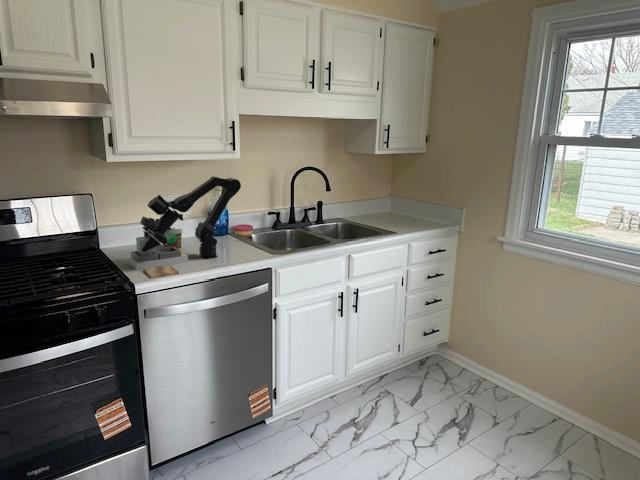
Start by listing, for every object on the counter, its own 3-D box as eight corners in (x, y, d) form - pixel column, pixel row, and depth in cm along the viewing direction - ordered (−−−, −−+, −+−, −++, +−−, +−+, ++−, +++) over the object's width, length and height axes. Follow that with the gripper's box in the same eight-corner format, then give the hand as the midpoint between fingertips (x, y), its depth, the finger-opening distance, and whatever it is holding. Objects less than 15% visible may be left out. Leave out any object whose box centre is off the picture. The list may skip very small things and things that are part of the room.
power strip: (180, 257, 212) (180, 245, 211) (188, 262, 205) (187, 250, 204) (130, 264, 199) (129, 252, 198) (136, 269, 192) (135, 257, 191)
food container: (156, 247, 228) (155, 227, 226) (166, 244, 233) (165, 225, 231) (172, 251, 221) (171, 230, 219) (183, 248, 226) (182, 228, 224)
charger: (149, 256, 201) (148, 236, 199) (152, 259, 198) (151, 238, 195) (137, 257, 199) (136, 237, 196) (140, 260, 195) (139, 240, 193)
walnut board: (170, 266, 198) (169, 265, 197) (178, 273, 189) (178, 271, 189) (143, 270, 191) (143, 269, 191) (151, 278, 183) (151, 276, 182)
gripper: (146, 206, 203) (121, 233, 199) (157, 213, 188) (131, 243, 184) (165, 222, 209) (141, 249, 206) (178, 230, 194) (152, 259, 191)
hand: (141, 249), depth 196 cm, fingers closed on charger, 5 cm apart
